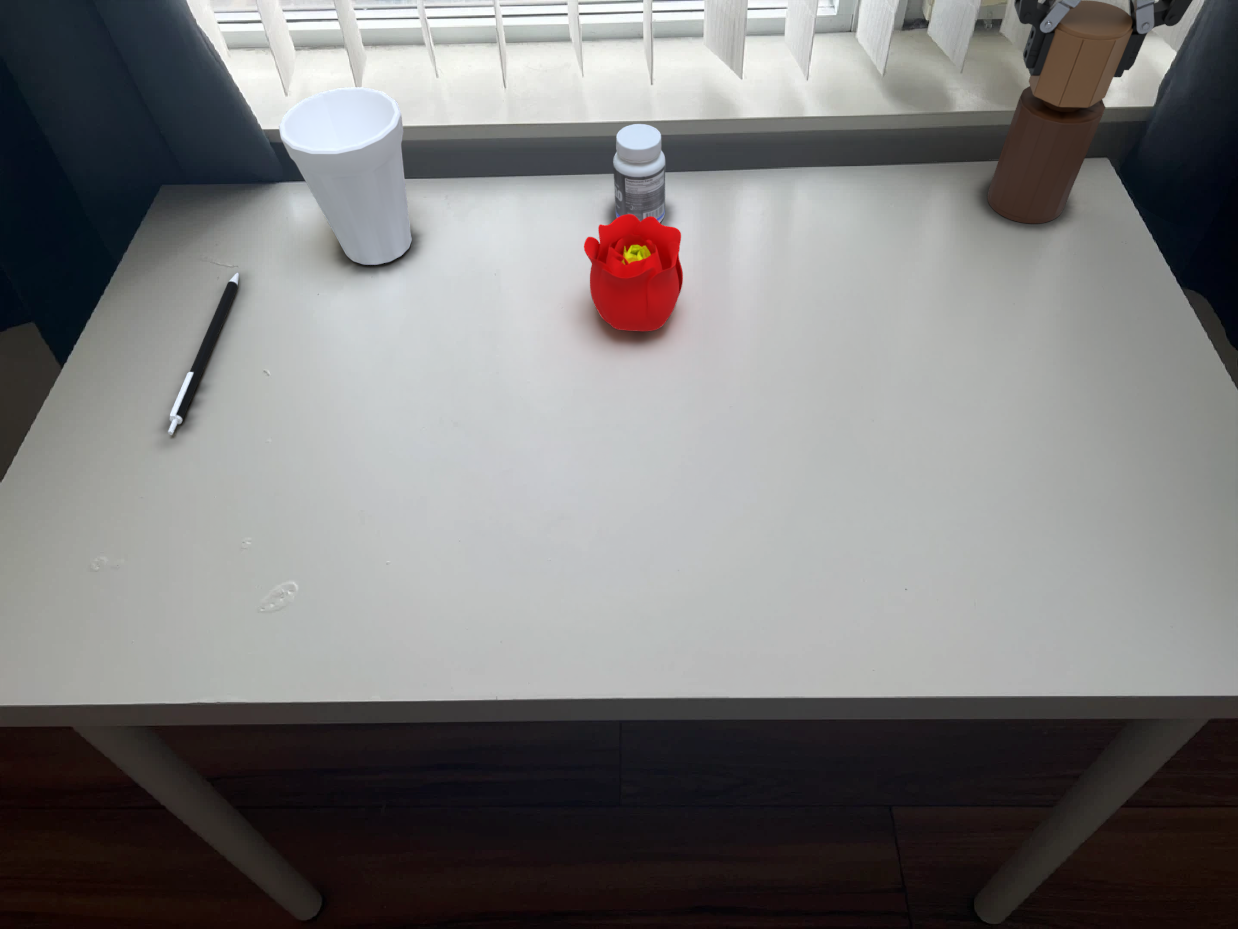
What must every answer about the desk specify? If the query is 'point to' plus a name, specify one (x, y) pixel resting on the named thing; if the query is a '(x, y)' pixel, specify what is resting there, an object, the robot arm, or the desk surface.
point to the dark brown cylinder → (1041, 158)
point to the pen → (202, 355)
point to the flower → (635, 272)
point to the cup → (353, 168)
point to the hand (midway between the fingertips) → (1073, 71)
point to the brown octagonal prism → (1083, 55)
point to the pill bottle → (639, 172)
